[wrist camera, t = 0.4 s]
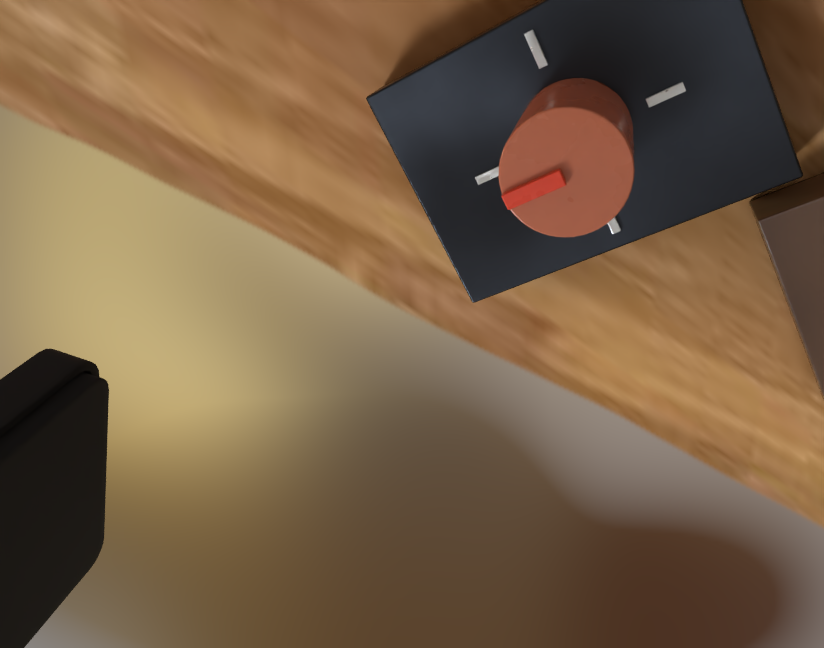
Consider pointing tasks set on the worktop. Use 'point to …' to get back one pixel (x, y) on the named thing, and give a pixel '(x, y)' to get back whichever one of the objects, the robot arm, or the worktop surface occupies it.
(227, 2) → the worktop surface
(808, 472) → the worktop surface
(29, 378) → the robot arm
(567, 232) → the dial knob
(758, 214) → the brown dial base plate
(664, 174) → the black dial base plate
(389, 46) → the worktop surface
